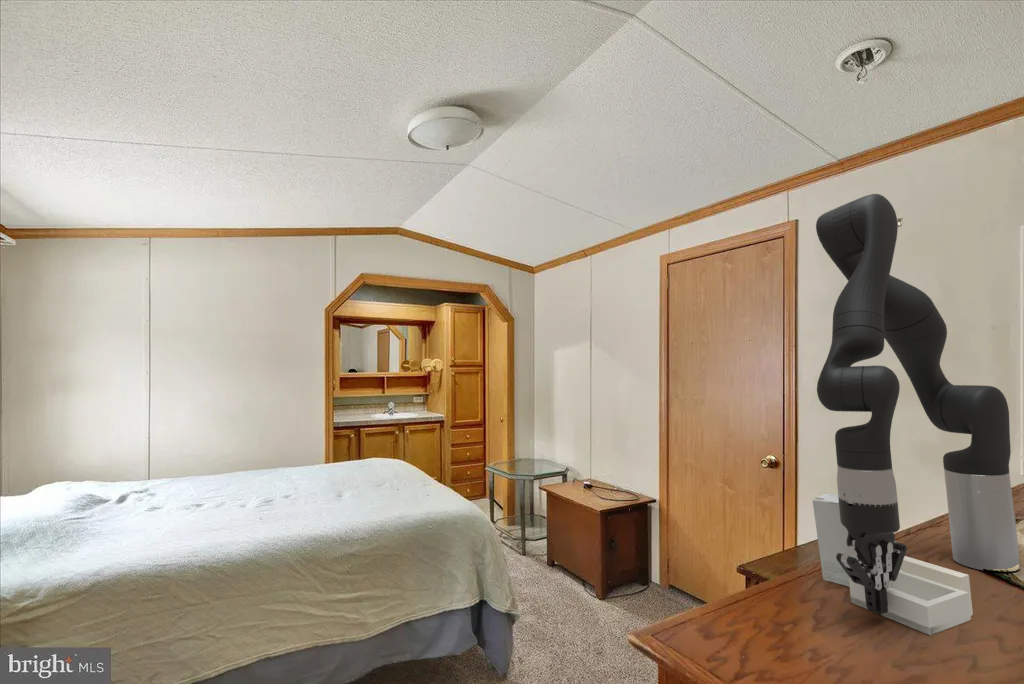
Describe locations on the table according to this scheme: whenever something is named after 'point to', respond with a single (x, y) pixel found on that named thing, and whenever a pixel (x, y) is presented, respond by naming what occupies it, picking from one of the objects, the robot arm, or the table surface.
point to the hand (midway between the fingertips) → (877, 611)
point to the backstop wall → (938, 575)
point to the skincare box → (830, 537)
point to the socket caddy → (920, 603)
